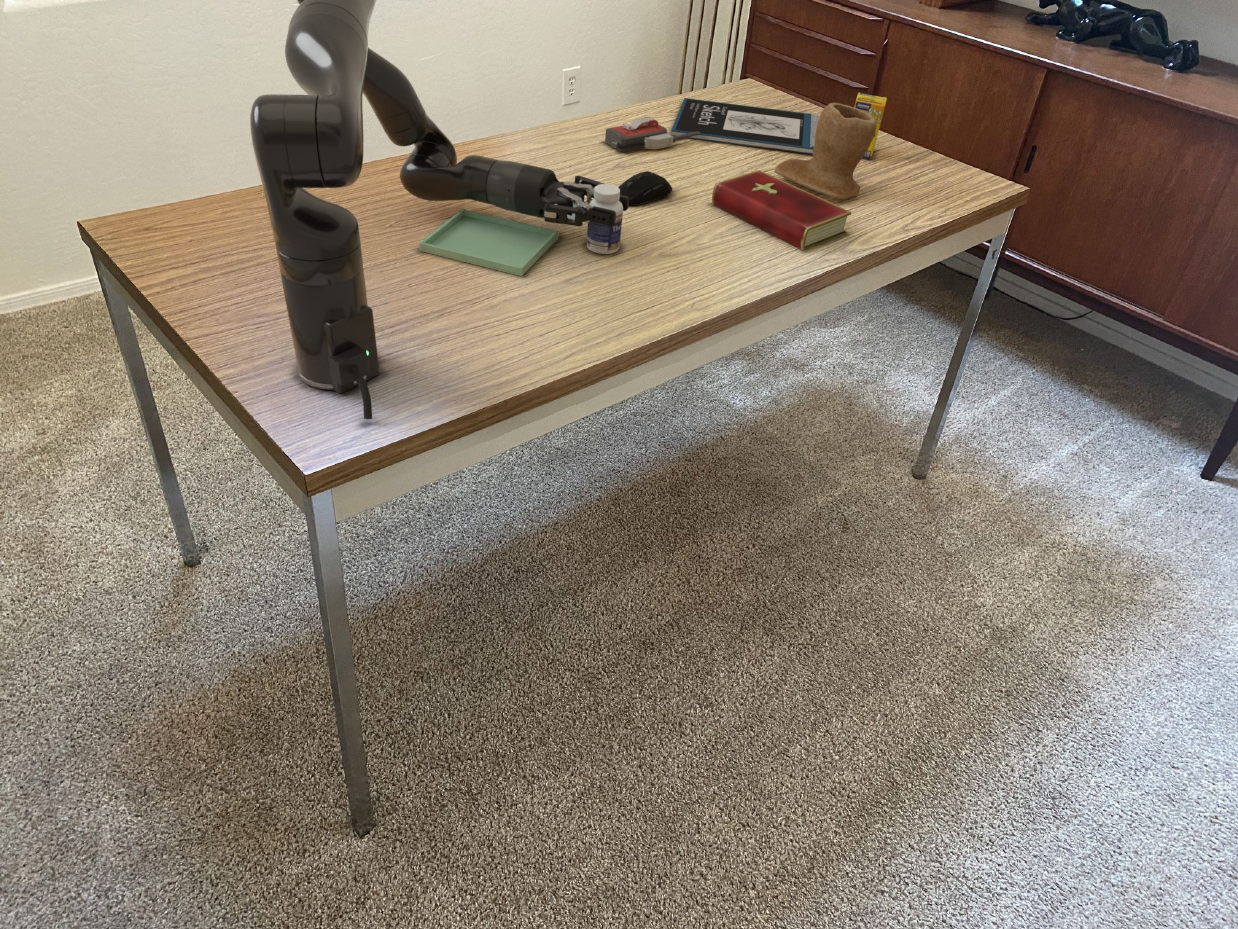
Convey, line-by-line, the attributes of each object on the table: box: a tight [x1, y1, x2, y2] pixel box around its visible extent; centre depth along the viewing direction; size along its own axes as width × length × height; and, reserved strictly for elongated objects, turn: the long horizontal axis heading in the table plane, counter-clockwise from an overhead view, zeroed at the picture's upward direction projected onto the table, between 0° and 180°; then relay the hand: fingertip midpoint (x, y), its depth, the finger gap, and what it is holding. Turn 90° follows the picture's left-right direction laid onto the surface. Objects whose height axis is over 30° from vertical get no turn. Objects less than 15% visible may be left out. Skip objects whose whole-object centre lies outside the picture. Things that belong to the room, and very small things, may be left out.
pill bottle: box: [586, 183, 624, 255], centre depth 140 cm, size 5×5×10 cm
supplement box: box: [853, 92, 888, 161], centre depth 181 cm, size 6×6×11 cm
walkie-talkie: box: [604, 116, 700, 153], centre depth 179 cm, size 9×4×20 cm
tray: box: [418, 208, 559, 277], centre depth 141 cm, size 17×14×1 cm
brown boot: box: [773, 102, 877, 200], centre depth 165 cm, size 15×12×15 cm
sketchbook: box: [670, 97, 820, 156], centre depth 191 cm, size 22×30×2 cm
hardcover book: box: [711, 169, 853, 252], centre depth 155 cm, size 12×21×4 cm, turn 42°
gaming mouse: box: [617, 170, 673, 206], centre depth 158 cm, size 6×15×4 cm, turn 133°
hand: (621, 211), depth 139 cm, fingers closed on pill bottle, 5 cm apart
